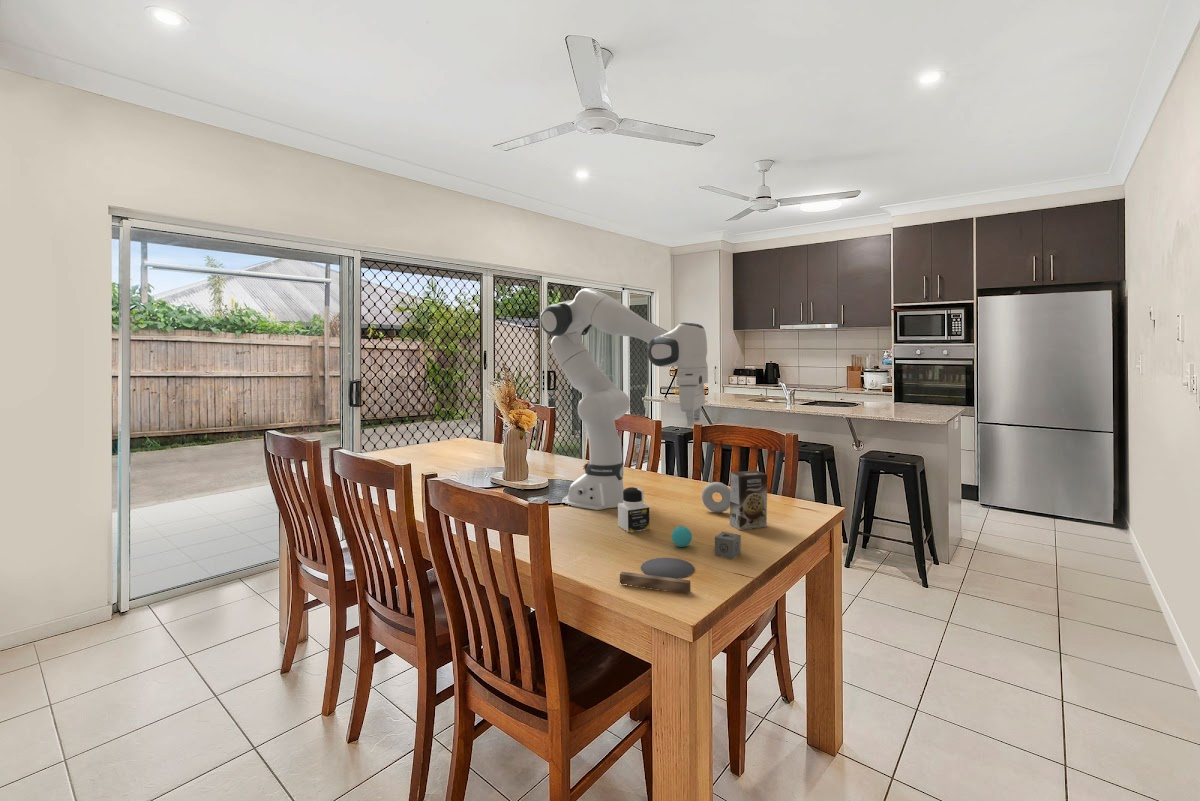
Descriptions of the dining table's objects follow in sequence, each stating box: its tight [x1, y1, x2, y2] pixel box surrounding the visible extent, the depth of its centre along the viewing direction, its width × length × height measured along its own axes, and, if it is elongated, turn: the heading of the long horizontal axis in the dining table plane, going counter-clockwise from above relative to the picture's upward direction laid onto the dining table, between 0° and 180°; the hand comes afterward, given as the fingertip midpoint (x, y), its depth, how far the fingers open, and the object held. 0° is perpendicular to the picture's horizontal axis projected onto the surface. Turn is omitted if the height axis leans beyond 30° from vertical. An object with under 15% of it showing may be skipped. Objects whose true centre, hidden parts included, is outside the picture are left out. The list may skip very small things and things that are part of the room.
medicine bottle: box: [617, 486, 650, 533], centre depth 173 cm, size 7×7×12 cm
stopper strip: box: [619, 571, 691, 595], centre depth 131 cm, size 16×2×2 cm, turn 70°
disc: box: [640, 557, 695, 579], centre depth 142 cm, size 13×13×1 cm
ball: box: [671, 525, 693, 548], centre depth 157 cm, size 6×6×6 cm
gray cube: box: [714, 531, 742, 560], centre depth 150 cm, size 5×5×5 cm
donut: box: [701, 481, 730, 514], centre depth 187 cm, size 10×4×10 cm, turn 64°
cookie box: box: [729, 470, 768, 531], centre depth 172 cm, size 9×6×16 cm
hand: (693, 423), depth 173 cm, fingers open, 8 cm apart
